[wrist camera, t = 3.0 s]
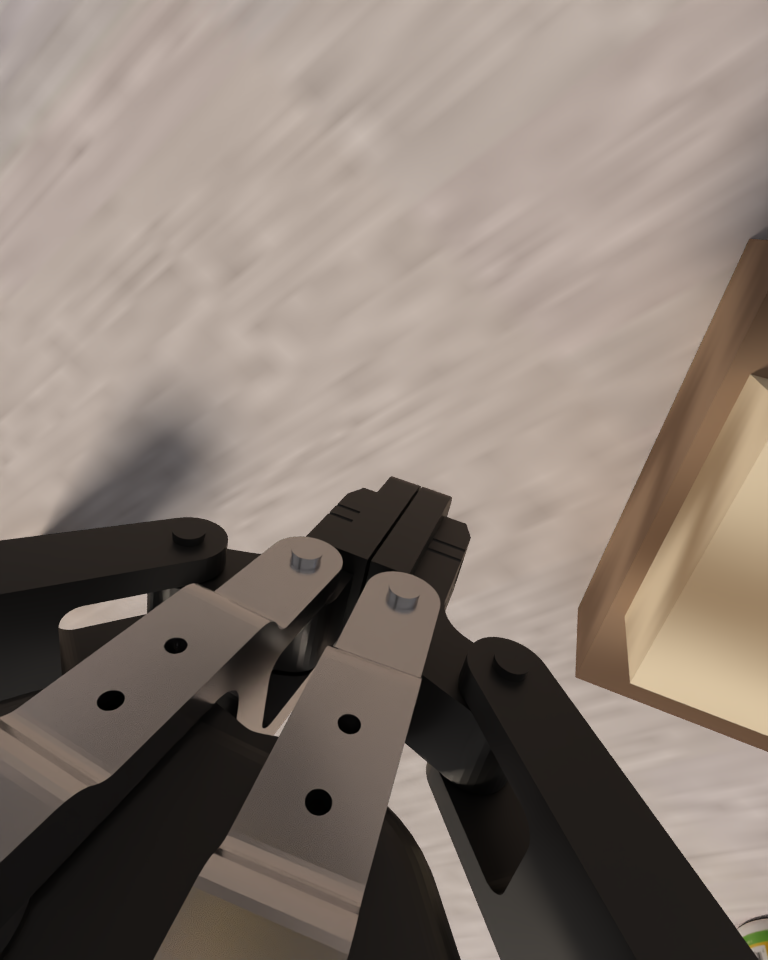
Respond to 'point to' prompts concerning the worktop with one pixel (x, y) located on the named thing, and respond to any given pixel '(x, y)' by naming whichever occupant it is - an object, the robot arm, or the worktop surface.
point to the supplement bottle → (756, 937)
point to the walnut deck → (676, 487)
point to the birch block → (713, 581)
